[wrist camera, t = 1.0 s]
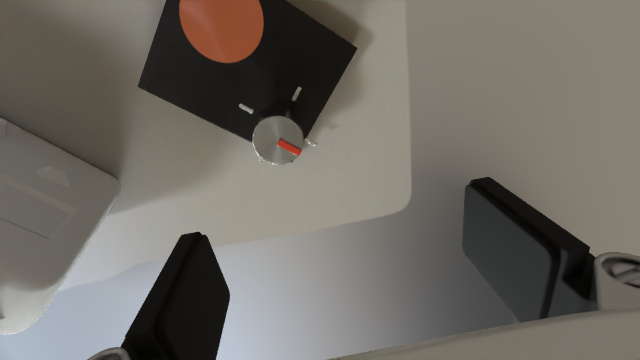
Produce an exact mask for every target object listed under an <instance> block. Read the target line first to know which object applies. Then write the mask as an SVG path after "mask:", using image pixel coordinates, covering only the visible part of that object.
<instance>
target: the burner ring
mask: <svg viewBox="0 0 640 360" xmlns="http://www.w3.org/2000/svg"><path fill="white" fill-rule="evenodd" d="M179 14H180V21H181V25H182V28H183V31H184V33H185V35H186V37H187V38H188V40H189V41H190V43H191V44H192V45H193V46H194V47H195V48H196V50H197V51H199V52H200V53H201V54H203V55H204V56H206V57H207V58H209V59H212V60H214V61H217V62H222V63H232V62H237V61H240V60H243V59H244V58H246V57H248V56H249V55H250V54H251V53H252V52H253V51H254V50H255V49H256V48H257V46H258V44H259V43H260V40H261V38H262V34H263V29H264V17H263V11H262V7H261V5H260V2H259V0H180V5H179Z"/></svg>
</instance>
